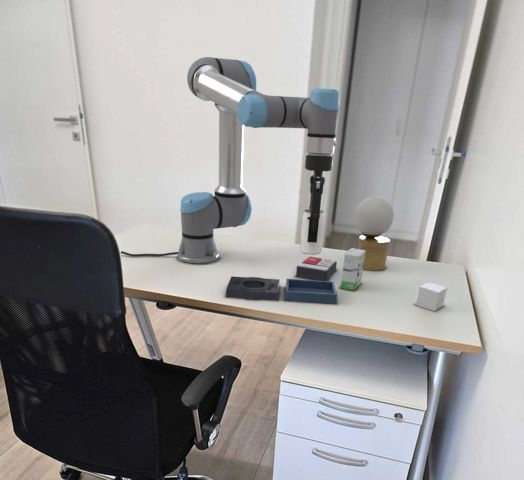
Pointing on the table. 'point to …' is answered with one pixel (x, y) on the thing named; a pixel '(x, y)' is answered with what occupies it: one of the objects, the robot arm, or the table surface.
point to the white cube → (431, 296)
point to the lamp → (374, 230)
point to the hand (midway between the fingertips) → (311, 238)
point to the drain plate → (260, 290)
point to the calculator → (316, 268)
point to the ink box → (352, 268)
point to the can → (307, 246)
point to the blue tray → (310, 291)
